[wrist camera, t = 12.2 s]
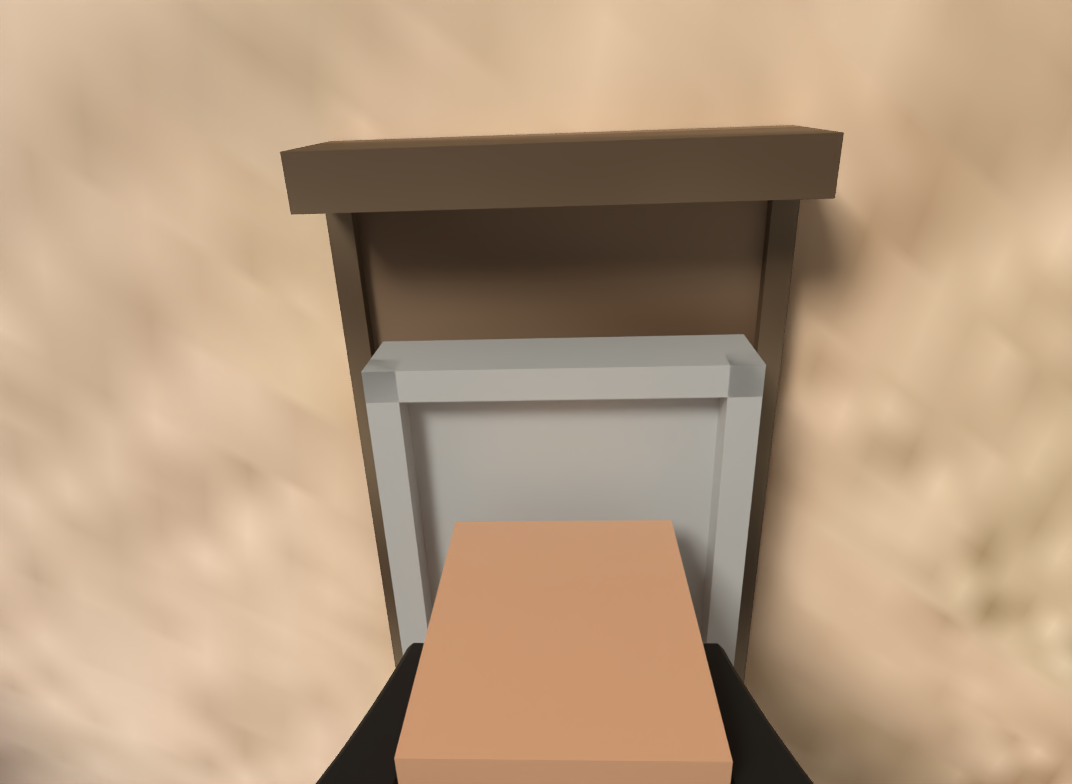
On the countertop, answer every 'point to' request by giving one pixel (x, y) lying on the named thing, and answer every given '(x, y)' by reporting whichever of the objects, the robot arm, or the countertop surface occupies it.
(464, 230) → the track
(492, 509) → the tray
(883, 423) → the countertop surface
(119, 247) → the countertop surface
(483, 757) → the block
